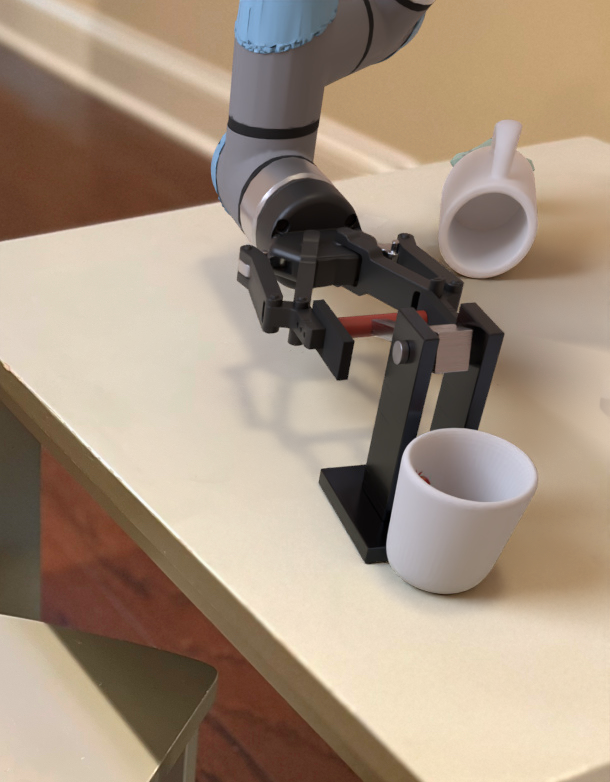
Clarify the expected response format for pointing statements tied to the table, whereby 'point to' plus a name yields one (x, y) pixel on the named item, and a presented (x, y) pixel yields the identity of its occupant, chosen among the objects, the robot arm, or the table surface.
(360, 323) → the lever
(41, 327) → the table surface
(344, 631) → the table surface
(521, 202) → the mug
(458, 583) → the cup
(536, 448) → the table surface
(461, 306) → the bracket
